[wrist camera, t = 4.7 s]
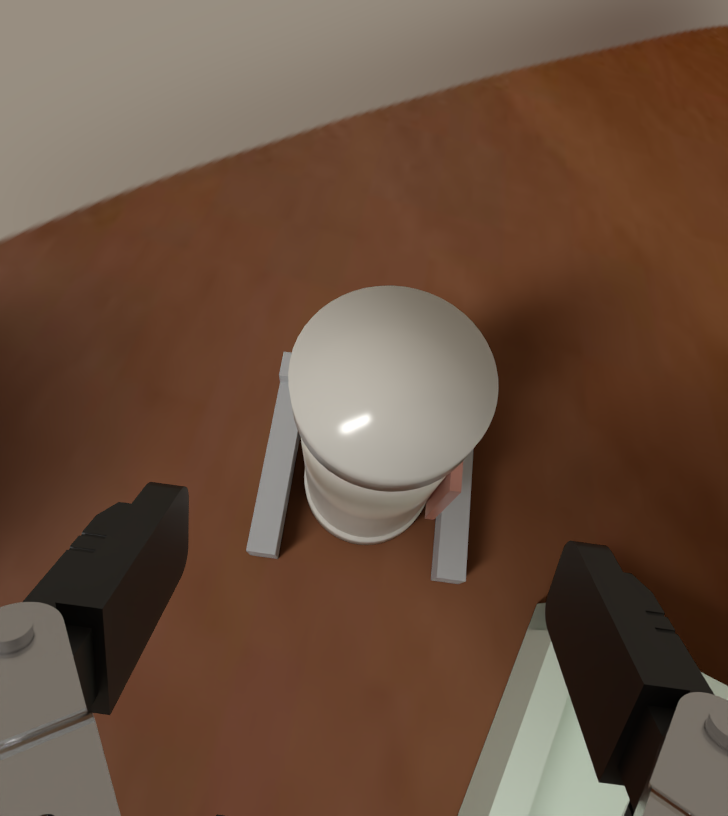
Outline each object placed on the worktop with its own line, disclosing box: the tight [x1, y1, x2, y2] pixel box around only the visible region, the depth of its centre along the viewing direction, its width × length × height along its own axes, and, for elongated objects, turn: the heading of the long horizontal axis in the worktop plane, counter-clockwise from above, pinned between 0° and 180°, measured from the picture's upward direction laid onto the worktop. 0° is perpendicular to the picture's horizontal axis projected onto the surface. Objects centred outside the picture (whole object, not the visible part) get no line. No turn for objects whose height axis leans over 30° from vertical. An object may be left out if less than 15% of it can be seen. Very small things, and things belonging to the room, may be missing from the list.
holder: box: [246, 352, 473, 584], centre depth 21 cm, size 7×8×2 cm
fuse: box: [288, 286, 499, 545], centre depth 17 cm, size 5×5×10 cm
